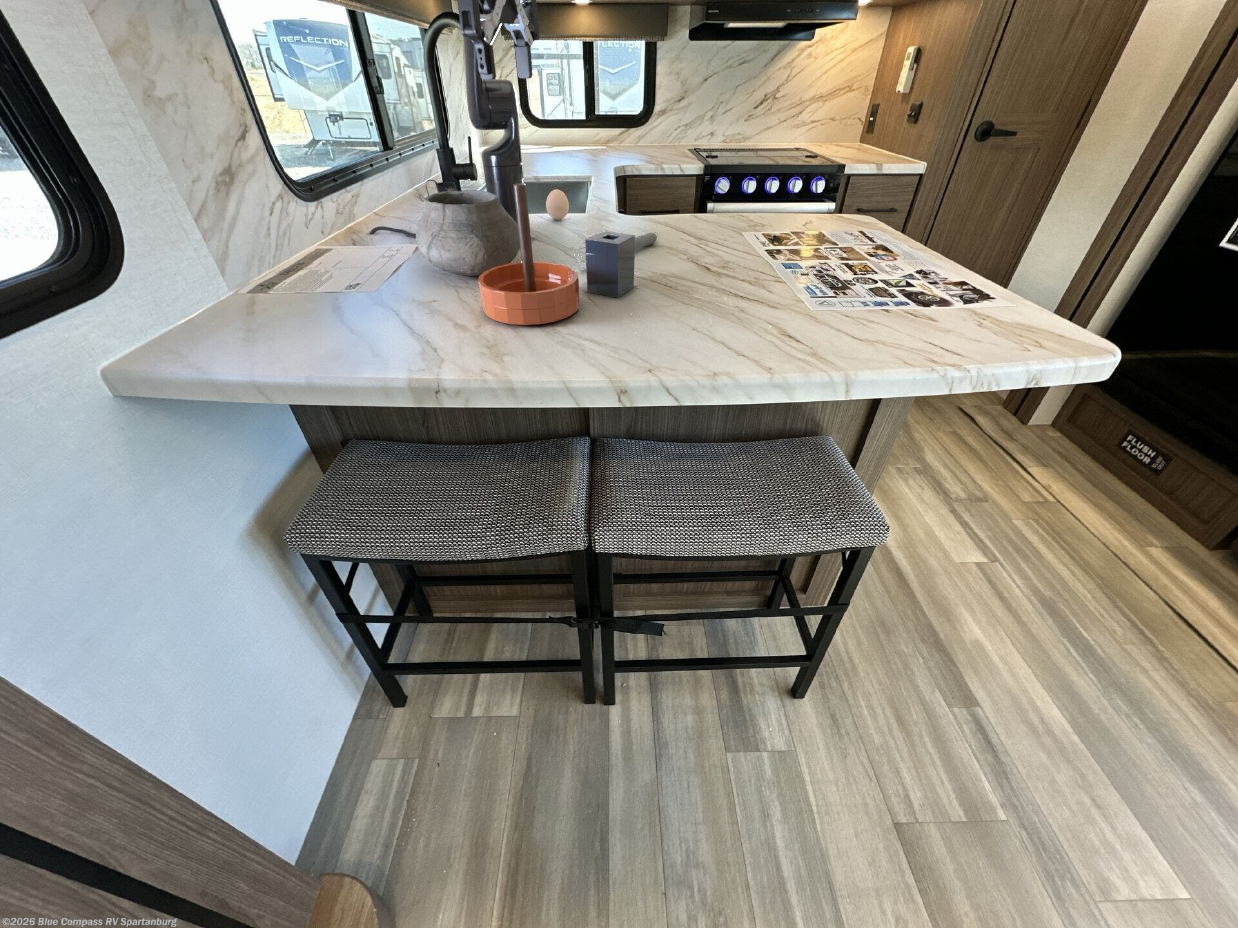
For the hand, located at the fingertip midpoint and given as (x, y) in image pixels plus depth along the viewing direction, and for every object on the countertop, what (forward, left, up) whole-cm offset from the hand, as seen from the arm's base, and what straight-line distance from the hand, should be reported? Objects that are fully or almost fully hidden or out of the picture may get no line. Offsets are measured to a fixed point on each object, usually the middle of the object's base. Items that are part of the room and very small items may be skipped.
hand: (507, 79), depth 73 cm
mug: (-55, +38, -34) cm, 75 cm away
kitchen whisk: (0, +36, -34) cm, 50 cm away
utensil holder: (+8, +16, -34) cm, 39 cm away
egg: (-34, +61, -34) cm, 78 cm away
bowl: (0, 0, -34) cm, 34 cm away
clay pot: (-24, +12, -34) cm, 44 cm away
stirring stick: (0, 0, -34) cm, 34 cm away
